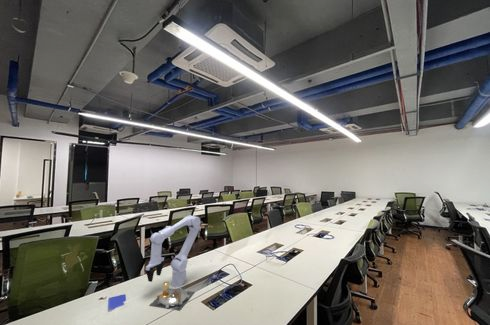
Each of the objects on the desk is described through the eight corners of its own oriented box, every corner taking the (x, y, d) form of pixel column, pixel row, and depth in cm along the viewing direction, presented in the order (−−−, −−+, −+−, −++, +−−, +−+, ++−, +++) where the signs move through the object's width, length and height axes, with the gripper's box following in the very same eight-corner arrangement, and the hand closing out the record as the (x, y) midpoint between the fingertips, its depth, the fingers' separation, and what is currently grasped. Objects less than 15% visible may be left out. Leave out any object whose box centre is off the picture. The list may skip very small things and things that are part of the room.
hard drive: (126, 305, 105) (125, 293, 115) (108, 310, 101) (108, 297, 111) (126, 308, 105) (125, 296, 115) (107, 313, 101) (108, 300, 111)
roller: (164, 292, 115) (165, 281, 116) (169, 293, 114) (170, 282, 115) (161, 295, 112) (162, 284, 112) (166, 296, 111) (167, 284, 112)
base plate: (167, 289, 122) (168, 288, 123) (195, 293, 119) (195, 292, 119) (148, 307, 105) (148, 305, 105) (179, 312, 101) (180, 310, 101)
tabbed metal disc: (151, 297, 112) (152, 287, 113) (181, 286, 124) (181, 277, 125) (164, 312, 100) (164, 301, 100) (195, 298, 112) (196, 288, 112)
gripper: (157, 249, 127) (156, 272, 125) (141, 257, 113) (139, 283, 111) (167, 250, 125) (166, 273, 124) (152, 259, 111) (151, 284, 110)
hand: (154, 278), depth 117 cm, fingers open, 7 cm apart
